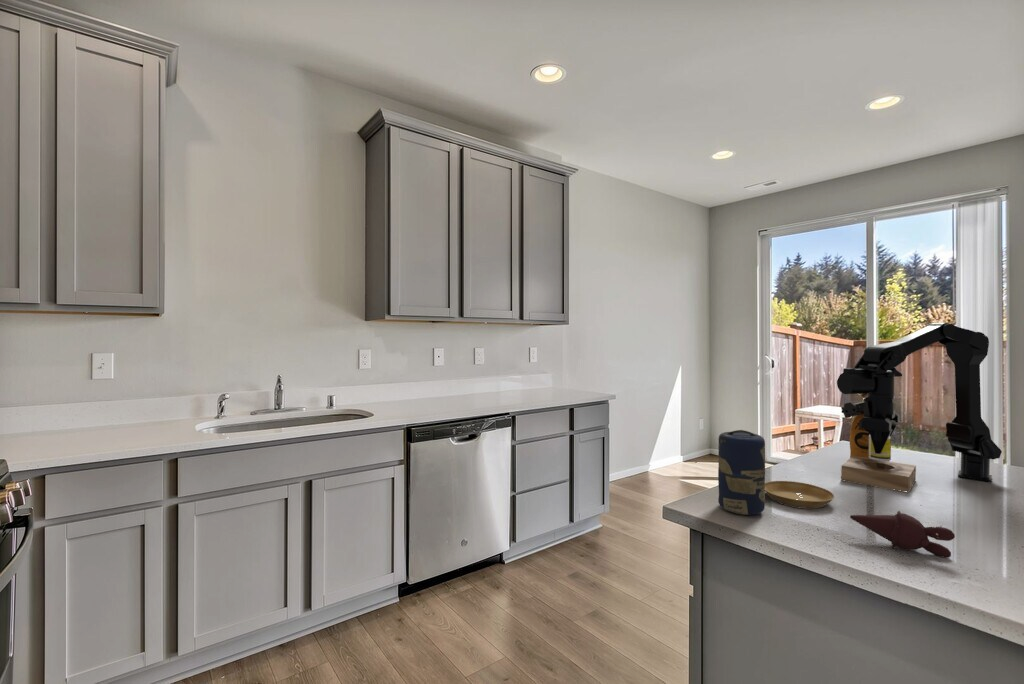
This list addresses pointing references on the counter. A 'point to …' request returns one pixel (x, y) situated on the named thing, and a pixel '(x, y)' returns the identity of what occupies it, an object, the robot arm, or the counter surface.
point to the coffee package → (859, 438)
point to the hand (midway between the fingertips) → (879, 451)
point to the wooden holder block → (879, 473)
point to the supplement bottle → (885, 453)
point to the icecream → (907, 532)
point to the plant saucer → (810, 493)
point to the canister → (741, 472)
